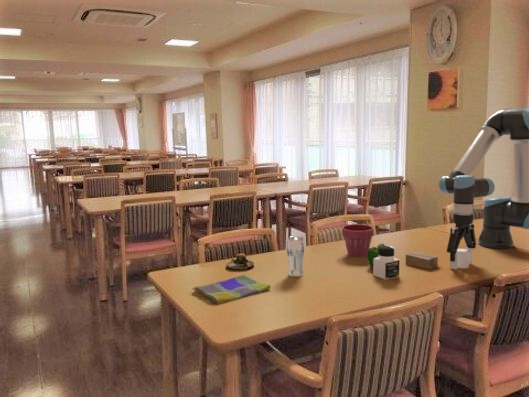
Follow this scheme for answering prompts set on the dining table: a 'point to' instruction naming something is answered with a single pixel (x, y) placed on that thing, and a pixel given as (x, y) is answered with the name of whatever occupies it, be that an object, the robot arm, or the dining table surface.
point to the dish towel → (231, 289)
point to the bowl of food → (240, 262)
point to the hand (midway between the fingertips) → (461, 265)
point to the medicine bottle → (386, 263)
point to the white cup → (463, 257)
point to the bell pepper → (373, 254)
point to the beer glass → (295, 255)
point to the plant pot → (357, 239)
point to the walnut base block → (422, 260)
